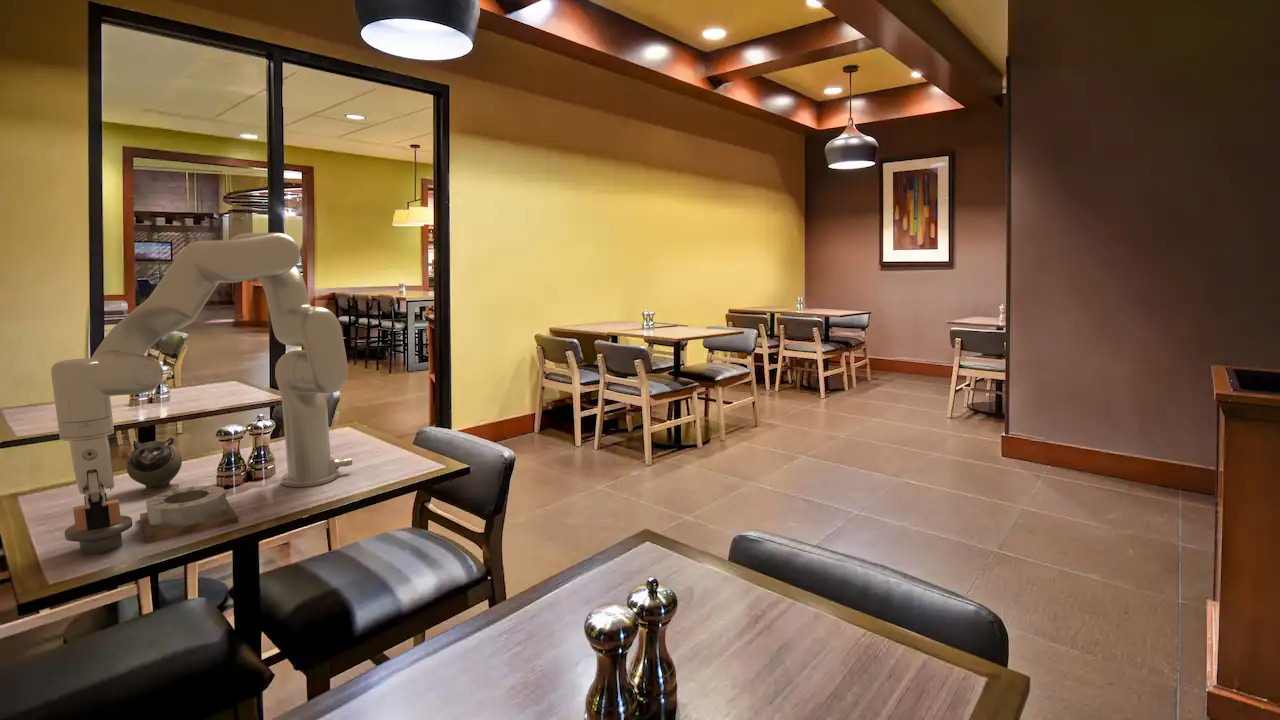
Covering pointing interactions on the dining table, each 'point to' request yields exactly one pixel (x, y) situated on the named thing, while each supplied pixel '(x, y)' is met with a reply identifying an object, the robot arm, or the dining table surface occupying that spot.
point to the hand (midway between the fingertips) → (98, 520)
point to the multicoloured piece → (98, 531)
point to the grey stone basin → (186, 506)
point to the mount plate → (160, 534)
